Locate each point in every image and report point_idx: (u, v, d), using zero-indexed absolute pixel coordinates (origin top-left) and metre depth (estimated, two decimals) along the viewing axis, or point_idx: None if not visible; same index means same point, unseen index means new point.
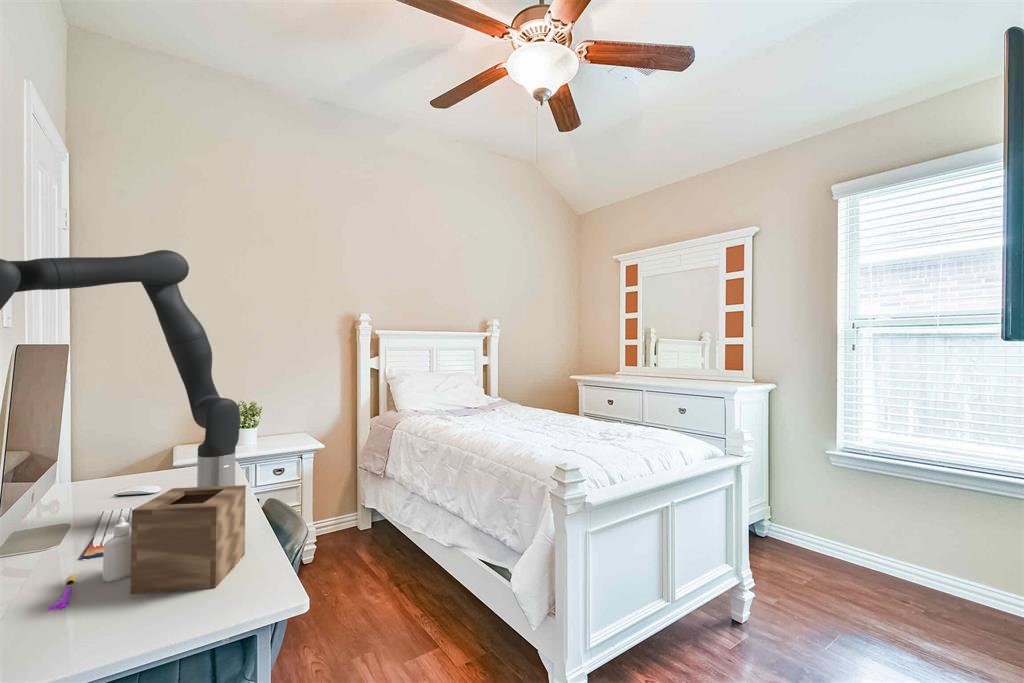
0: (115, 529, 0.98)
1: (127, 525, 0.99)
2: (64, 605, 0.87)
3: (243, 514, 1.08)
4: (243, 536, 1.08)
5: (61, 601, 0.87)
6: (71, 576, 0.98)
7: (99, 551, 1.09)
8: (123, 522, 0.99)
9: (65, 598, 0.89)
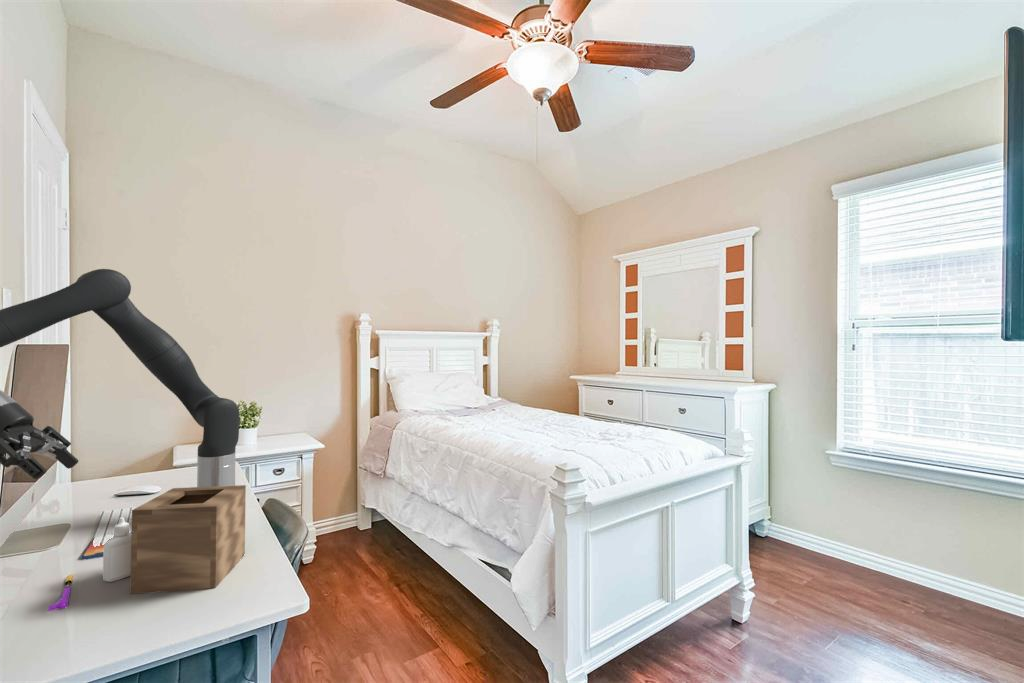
0: (115, 529, 0.98)
1: (127, 525, 0.99)
2: (65, 604, 0.87)
3: (243, 514, 1.08)
4: (243, 536, 1.08)
5: (61, 601, 0.87)
6: (69, 576, 0.97)
7: (99, 551, 1.09)
8: (123, 522, 0.99)
9: (65, 598, 0.89)
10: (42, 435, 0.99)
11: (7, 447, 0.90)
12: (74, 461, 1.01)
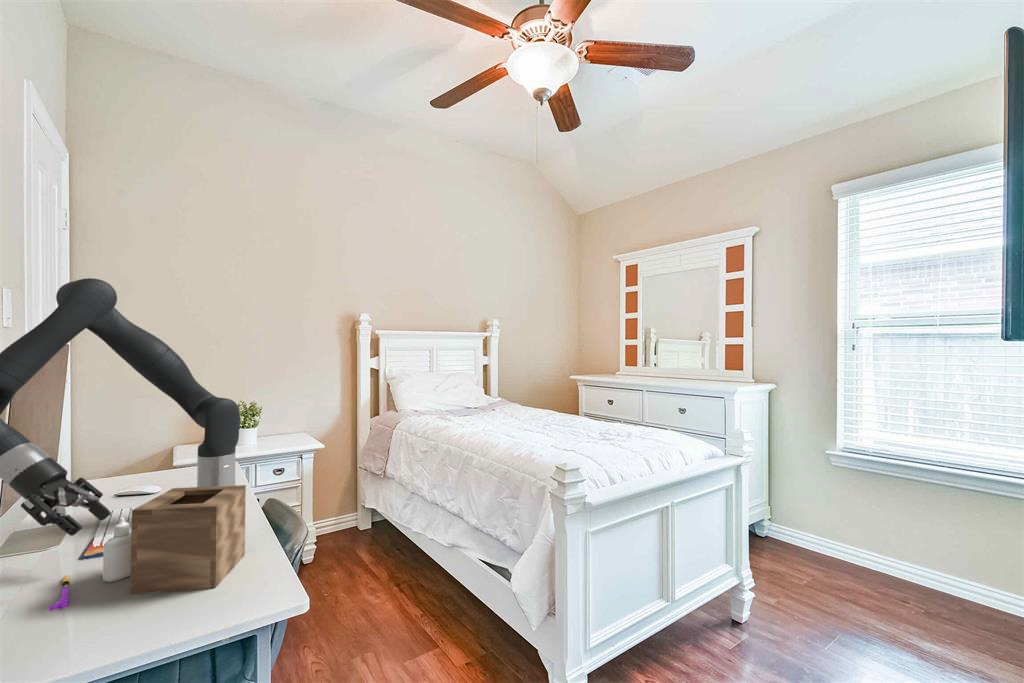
0: (115, 529, 0.98)
1: (127, 525, 0.99)
2: (66, 604, 0.87)
3: (243, 514, 1.08)
4: (243, 536, 1.08)
5: (62, 600, 0.88)
6: (65, 577, 0.97)
7: (99, 551, 1.09)
8: (123, 522, 0.99)
9: (66, 597, 0.89)
10: (76, 489, 1.00)
11: (44, 506, 0.91)
12: (107, 513, 1.02)
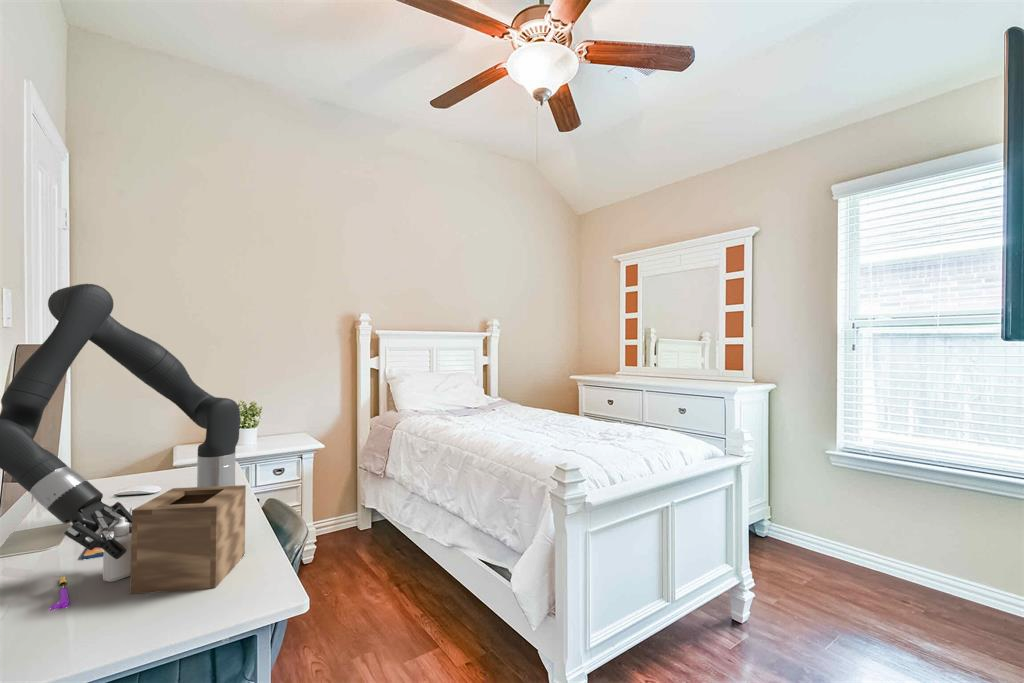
0: (115, 529, 0.98)
1: (127, 525, 0.99)
2: (67, 604, 0.87)
3: (243, 514, 1.08)
4: (243, 536, 1.08)
5: (63, 601, 0.88)
6: (62, 578, 0.97)
7: (99, 551, 1.09)
8: (123, 522, 0.99)
9: (66, 598, 0.89)
10: (111, 512, 1.01)
11: (89, 532, 0.93)
12: None
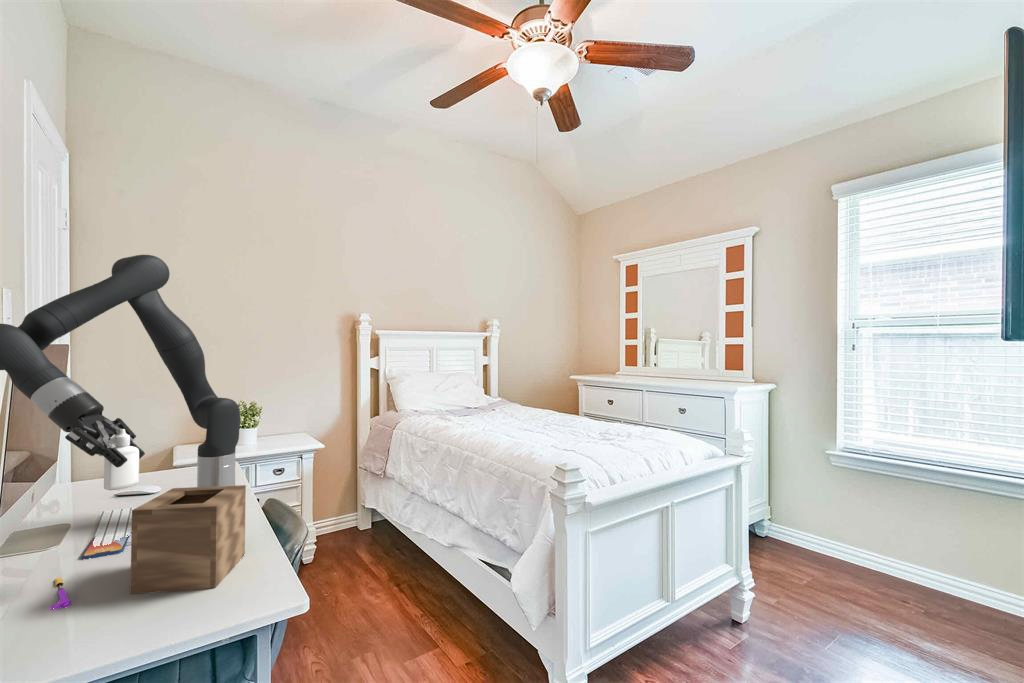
0: (116, 439, 0.98)
1: (128, 436, 0.99)
2: (68, 604, 0.87)
3: (243, 514, 1.08)
4: (243, 536, 1.08)
5: (63, 600, 0.88)
6: (57, 579, 0.96)
7: (99, 551, 1.09)
8: (124, 433, 0.99)
9: (66, 597, 0.89)
10: (112, 424, 1.01)
11: (90, 437, 0.93)
12: (141, 453, 1.02)
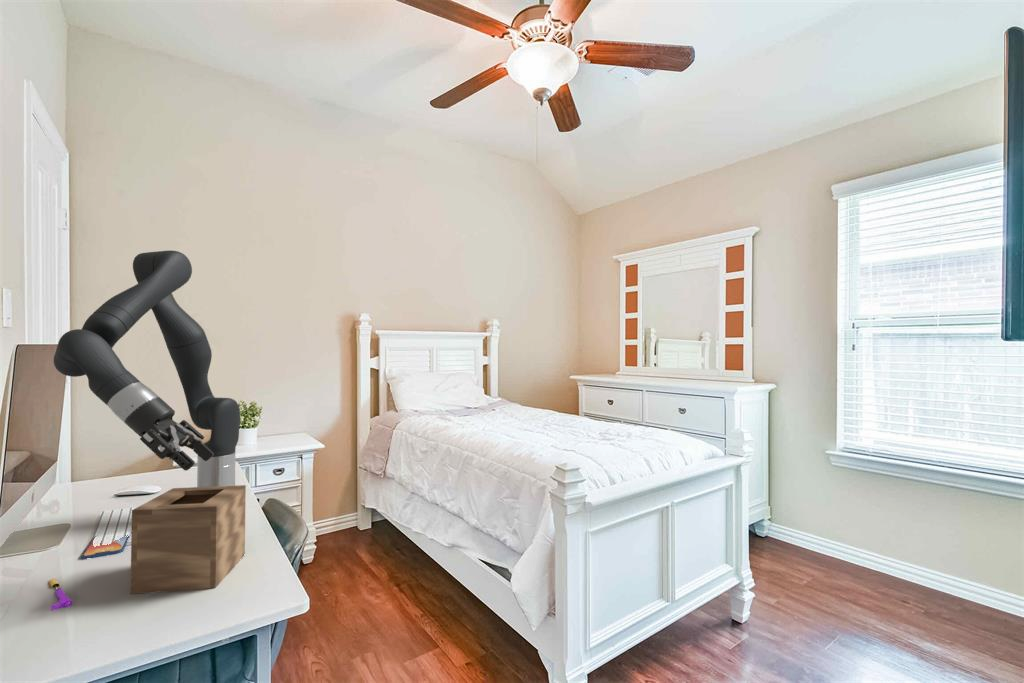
0: None
1: None
2: (70, 603, 0.87)
3: (243, 514, 1.08)
4: (243, 536, 1.08)
5: (64, 600, 0.88)
6: (52, 580, 0.96)
7: (99, 551, 1.10)
8: None
9: (66, 597, 0.89)
10: (183, 429, 1.02)
11: (161, 440, 0.94)
12: (211, 454, 1.05)
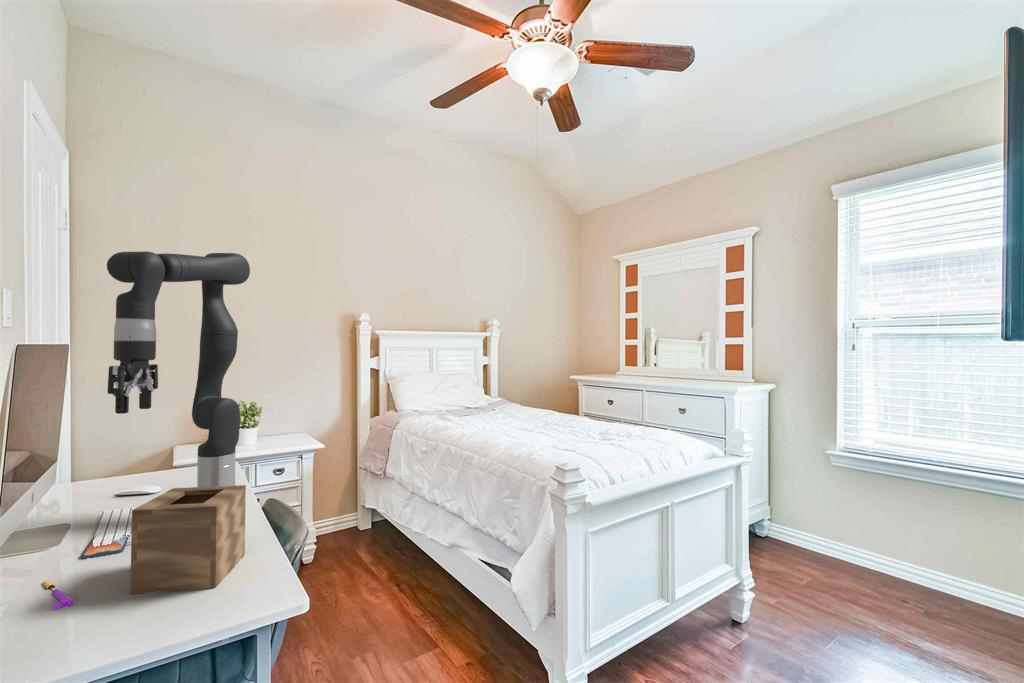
0: None
1: None
2: (72, 602, 0.88)
3: (243, 514, 1.08)
4: (243, 536, 1.08)
5: (65, 599, 0.88)
6: (46, 582, 0.95)
7: (99, 551, 1.10)
8: None
9: (67, 597, 0.89)
10: (148, 375, 1.10)
11: (122, 380, 1.02)
12: (148, 407, 1.12)
